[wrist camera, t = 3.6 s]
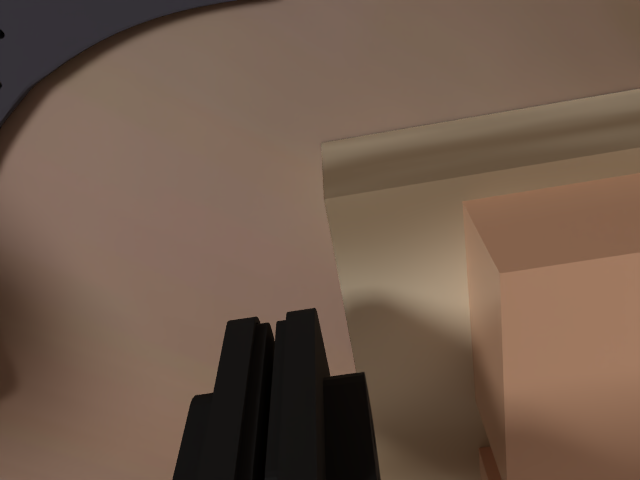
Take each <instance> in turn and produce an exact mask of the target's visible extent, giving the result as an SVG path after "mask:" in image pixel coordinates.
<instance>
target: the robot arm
mask: <svg viewBox="0 0 640 480" xmlns="http://www.w3.org/2000/svg"><path fill="white" fill-rule="evenodd" d="M173 480H381V478H380V470H379V462H378V454H377V446H376V438H375V431H374V424H373V418H372V411H371V405H370V399H369V393H368V387H367V381H366V376H365V372H360V373H353V374H345V375H338V376H331V377H330V372H329V367H328V362H327V358H326V353H325V348H324V343H323V338H322V334H321V329H320V324H319V319H318V315H317V311H316V309H315V308H312V309H305V310H298V311H292V312H287V314H286V320H283V321H277V324H276V335H275V341H274V337H273V333H272V329H271V326H270V324H269V323H262V324H260V321H259V319H258V317H251V318H244V319H237V320H230V321H228V322H227V325H226V331H225V336H224V341H223V346H222V351H221V356H220V361H219V366H218V371H217V377H216V382H215V387H214V392H213V393H209V394H202V395H195V396H194V397H193V399H192V401H191V404H190V408H189V412H188V416H187V421H186V425H185V429H184V433H183V437H182V442H181V446H180V450H179V454H178V459H177V463H176V467H175V471H174V475H173Z"/></svg>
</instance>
